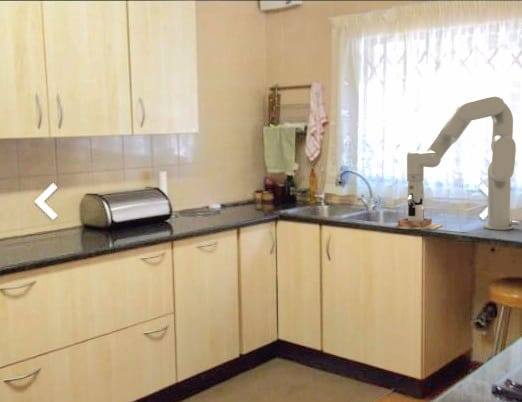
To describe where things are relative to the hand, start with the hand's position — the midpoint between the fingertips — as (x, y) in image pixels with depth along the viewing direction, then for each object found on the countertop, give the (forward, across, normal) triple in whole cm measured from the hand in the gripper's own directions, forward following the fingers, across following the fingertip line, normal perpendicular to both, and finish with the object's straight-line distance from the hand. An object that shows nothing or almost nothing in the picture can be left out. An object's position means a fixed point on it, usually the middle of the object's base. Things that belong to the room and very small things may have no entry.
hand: (415, 214), depth 304 cm
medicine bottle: (+4, 0, 0) cm, 4 cm away
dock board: (+6, 0, -2) cm, 6 cm away
